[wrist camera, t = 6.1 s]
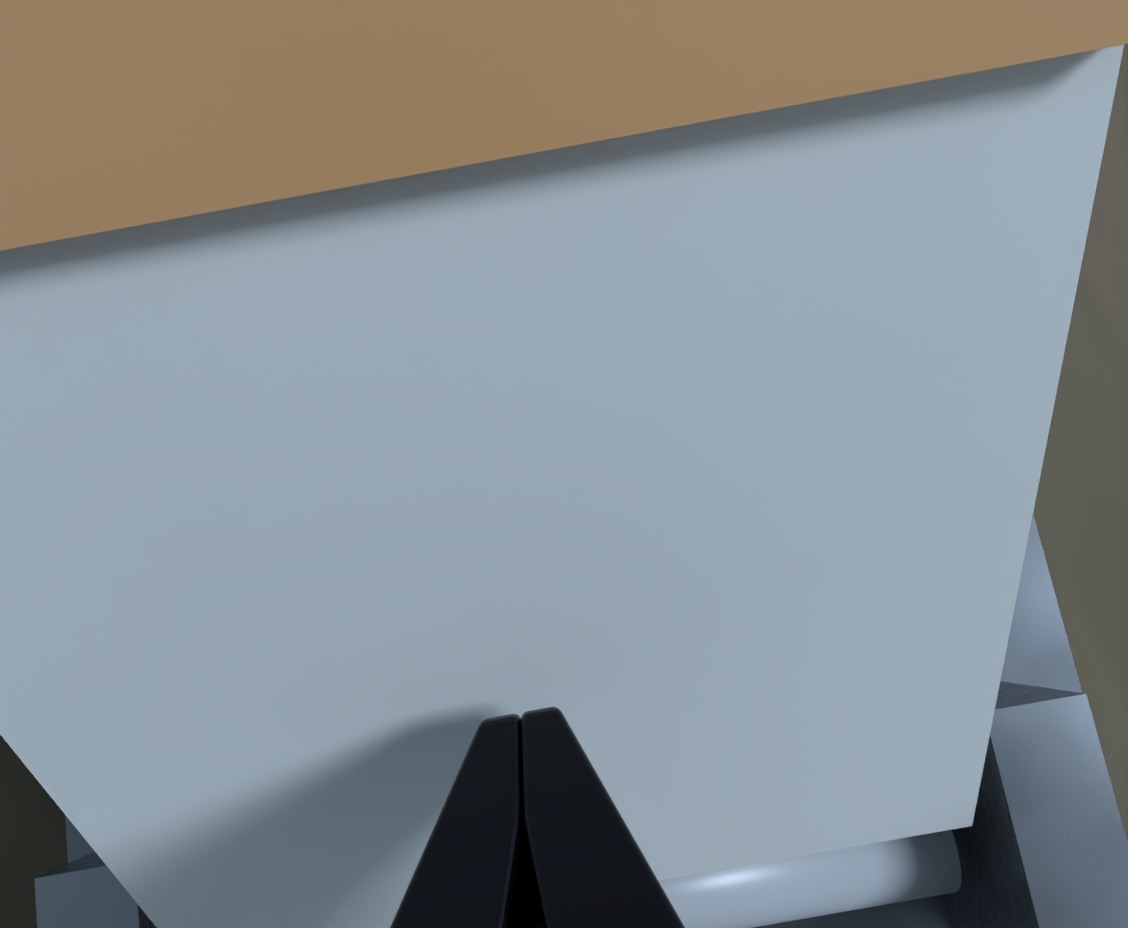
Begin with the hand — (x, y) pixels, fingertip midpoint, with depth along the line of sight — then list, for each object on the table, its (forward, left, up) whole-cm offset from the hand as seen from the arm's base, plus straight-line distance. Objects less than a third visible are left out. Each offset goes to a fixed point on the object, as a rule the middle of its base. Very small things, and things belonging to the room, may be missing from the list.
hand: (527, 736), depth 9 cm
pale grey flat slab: (-3, -1, -5) cm, 6 cm away
